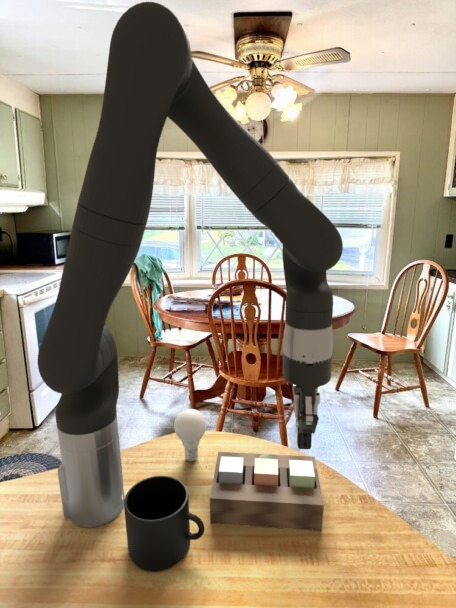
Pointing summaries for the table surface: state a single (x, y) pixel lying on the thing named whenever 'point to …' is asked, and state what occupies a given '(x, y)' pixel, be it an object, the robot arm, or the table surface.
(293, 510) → the console
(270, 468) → the terracotta button
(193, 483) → the table surface
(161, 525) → the mug
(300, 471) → the sage button
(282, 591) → the table surface
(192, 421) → the lightbulb
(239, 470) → the slate button
